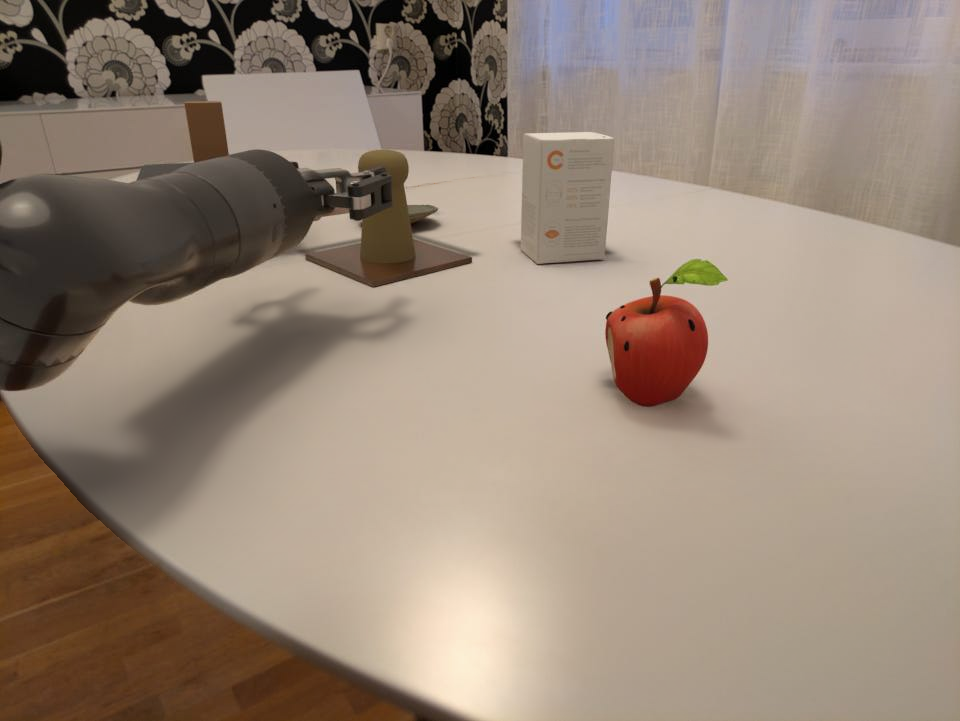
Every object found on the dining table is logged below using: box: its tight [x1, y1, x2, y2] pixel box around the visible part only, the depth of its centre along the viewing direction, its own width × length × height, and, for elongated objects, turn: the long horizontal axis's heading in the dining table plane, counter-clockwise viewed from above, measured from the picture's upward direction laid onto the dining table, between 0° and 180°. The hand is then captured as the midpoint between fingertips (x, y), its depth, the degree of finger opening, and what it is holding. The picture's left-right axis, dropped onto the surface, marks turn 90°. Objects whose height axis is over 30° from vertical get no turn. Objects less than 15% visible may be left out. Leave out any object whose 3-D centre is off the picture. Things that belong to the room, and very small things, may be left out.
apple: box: [604, 258, 729, 408], centre depth 42 cm, size 8×7×10 cm
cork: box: [357, 149, 416, 264], centre depth 71 cm, size 6×6×11 cm
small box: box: [520, 131, 615, 265], centre depth 73 cm, size 8×6×13 cm
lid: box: [407, 204, 439, 225], centre depth 88 cm, size 11×10×5 cm
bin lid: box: [135, 100, 230, 181], centre depth 75 cm, size 16×14×8 cm
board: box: [304, 238, 473, 288], centre depth 73 cm, size 13×13×1 cm
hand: (338, 176), depth 60 cm, fingers open, 8 cm apart
